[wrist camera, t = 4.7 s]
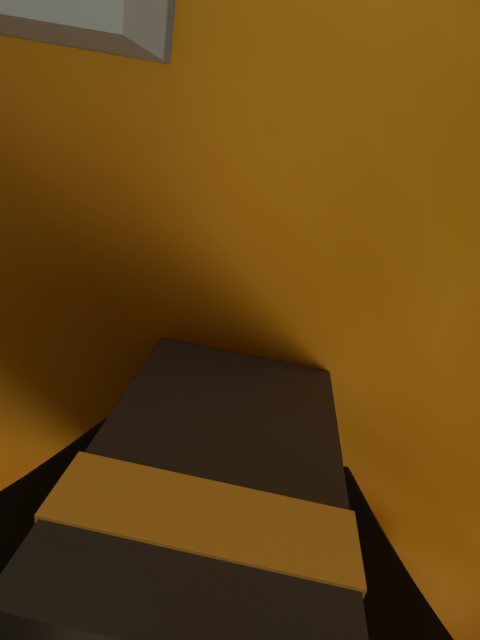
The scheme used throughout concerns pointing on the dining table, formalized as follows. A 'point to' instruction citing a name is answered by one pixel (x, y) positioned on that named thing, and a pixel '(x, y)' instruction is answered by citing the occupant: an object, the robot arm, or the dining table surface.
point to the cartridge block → (198, 514)
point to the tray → (94, 25)
